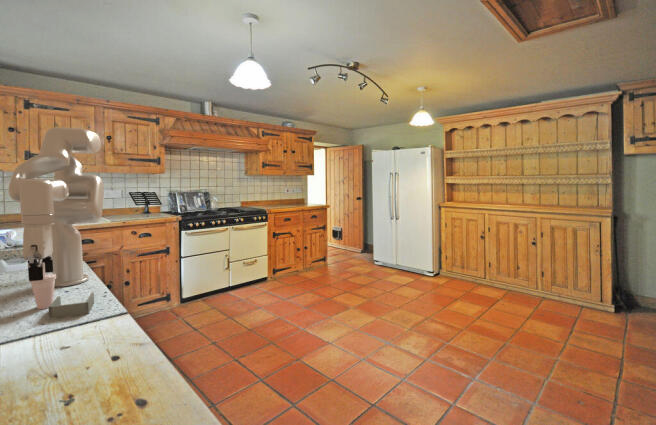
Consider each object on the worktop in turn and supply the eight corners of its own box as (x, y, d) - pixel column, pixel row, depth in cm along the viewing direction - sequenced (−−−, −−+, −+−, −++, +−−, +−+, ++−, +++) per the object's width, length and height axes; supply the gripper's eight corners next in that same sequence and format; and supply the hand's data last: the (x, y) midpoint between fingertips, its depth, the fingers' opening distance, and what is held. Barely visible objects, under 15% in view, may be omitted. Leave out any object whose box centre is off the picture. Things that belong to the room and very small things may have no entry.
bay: (58, 307, 104) (57, 296, 104) (94, 303, 108) (93, 292, 108) (49, 319, 96) (48, 307, 96) (88, 313, 100) (87, 302, 99)
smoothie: (42, 311, 101) (39, 266, 99) (25, 309, 102) (21, 264, 101) (63, 303, 107) (60, 260, 106) (47, 301, 108) (43, 259, 107)
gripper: (32, 218, 108) (35, 271, 109) (10, 224, 92) (14, 285, 93) (61, 217, 111) (64, 268, 112) (44, 222, 95) (48, 282, 97)
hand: (41, 276), depth 103 cm, fingers open, 9 cm apart
